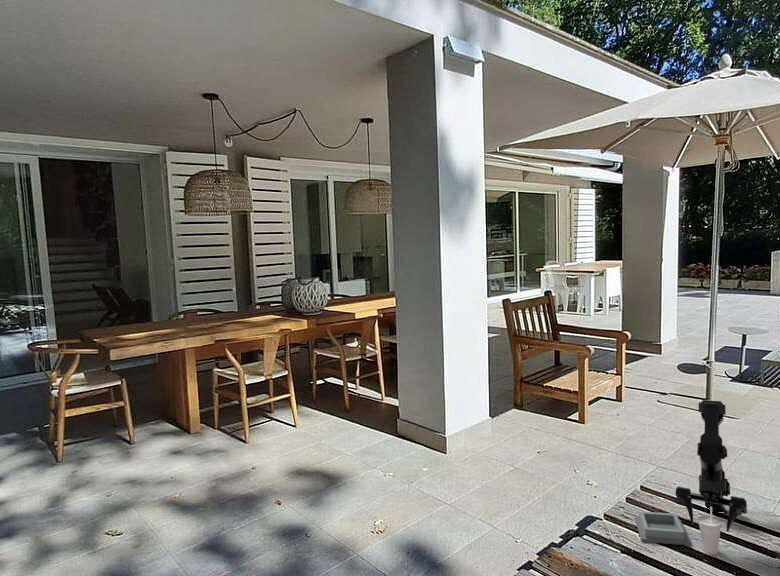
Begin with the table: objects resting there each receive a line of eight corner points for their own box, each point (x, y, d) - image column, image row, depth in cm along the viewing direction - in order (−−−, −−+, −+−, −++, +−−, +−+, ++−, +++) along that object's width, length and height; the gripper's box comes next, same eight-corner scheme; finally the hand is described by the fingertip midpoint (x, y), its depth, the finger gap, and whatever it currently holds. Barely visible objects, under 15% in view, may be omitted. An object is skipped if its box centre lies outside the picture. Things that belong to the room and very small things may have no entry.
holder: (634, 518, 181) (634, 509, 181) (680, 522, 177) (679, 512, 177) (641, 541, 168) (641, 531, 168) (690, 545, 164) (690, 534, 163)
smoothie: (726, 557, 156) (725, 512, 155) (703, 556, 158) (701, 512, 157) (717, 545, 163) (716, 502, 162) (695, 544, 164) (693, 501, 163)
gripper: (675, 462, 168) (671, 510, 159) (745, 473, 157) (745, 525, 149) (679, 476, 175) (676, 523, 166) (746, 487, 164) (747, 538, 156)
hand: (709, 527), depth 159 cm, fingers open, 9 cm apart
